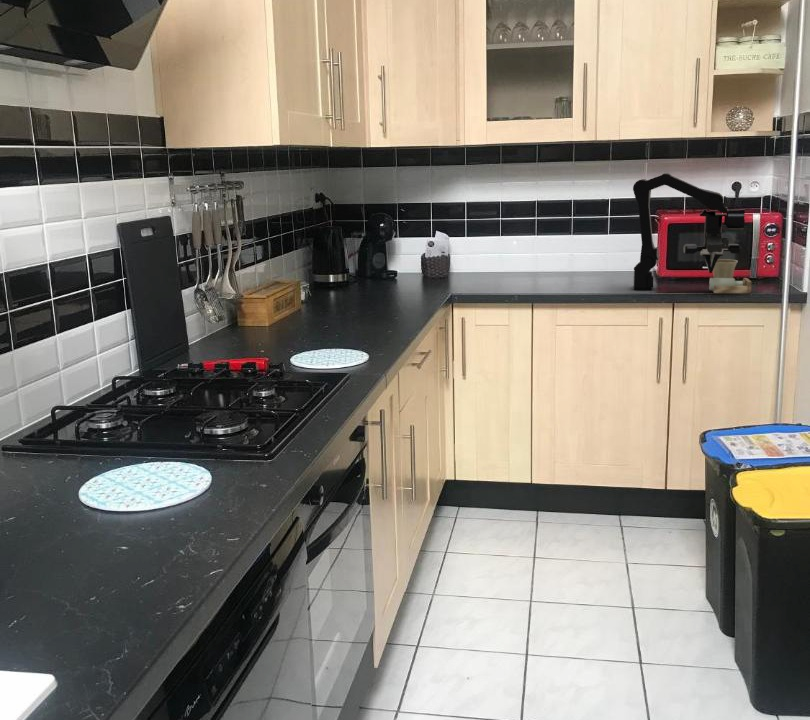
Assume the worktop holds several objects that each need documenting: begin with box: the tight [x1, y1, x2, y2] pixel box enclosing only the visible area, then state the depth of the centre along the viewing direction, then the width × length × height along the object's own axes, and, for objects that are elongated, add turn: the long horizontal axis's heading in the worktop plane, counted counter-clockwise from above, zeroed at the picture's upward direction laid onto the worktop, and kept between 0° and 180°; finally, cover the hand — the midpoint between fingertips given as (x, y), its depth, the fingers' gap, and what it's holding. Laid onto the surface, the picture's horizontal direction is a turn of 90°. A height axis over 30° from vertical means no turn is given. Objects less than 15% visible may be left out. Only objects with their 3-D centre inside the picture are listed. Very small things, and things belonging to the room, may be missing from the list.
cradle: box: [711, 277, 752, 294], centre depth 298 cm, size 12×9×4 cm
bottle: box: [708, 277, 745, 291], centre depth 298 cm, size 4×4×12 cm
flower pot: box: [712, 258, 738, 278], centre depth 313 cm, size 9×9×9 cm
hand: (710, 272), depth 298 cm, fingers closed
